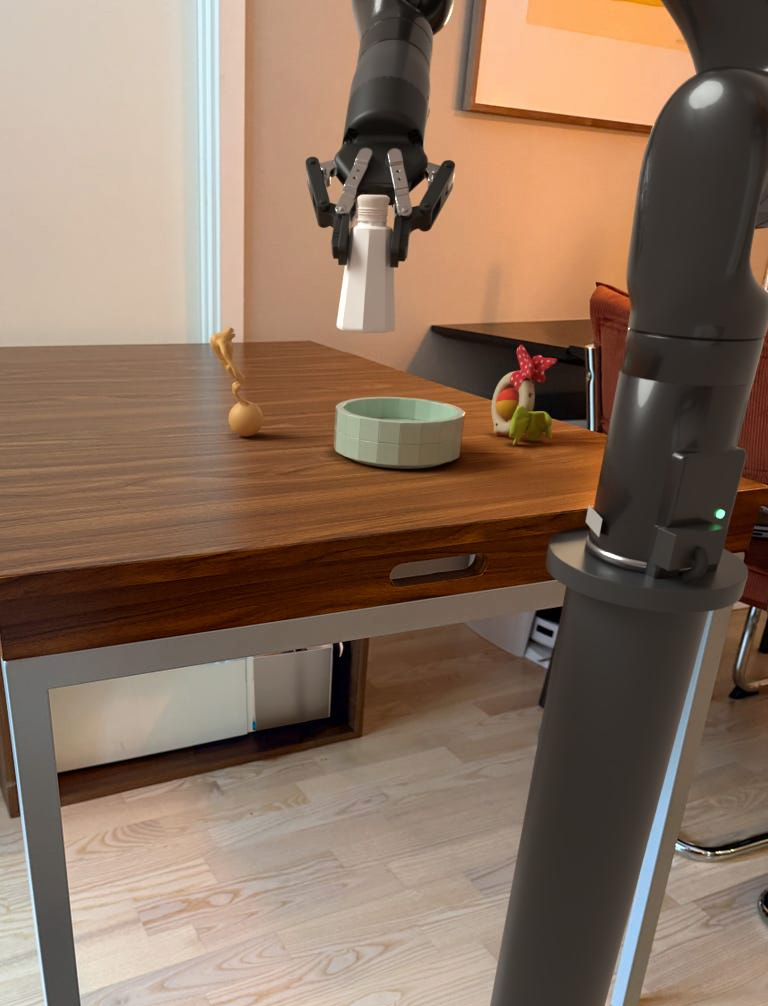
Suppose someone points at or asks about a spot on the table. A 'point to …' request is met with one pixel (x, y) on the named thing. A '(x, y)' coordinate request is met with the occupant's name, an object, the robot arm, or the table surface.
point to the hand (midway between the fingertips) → (368, 258)
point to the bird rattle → (521, 400)
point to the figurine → (236, 387)
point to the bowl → (398, 431)
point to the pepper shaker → (368, 271)
